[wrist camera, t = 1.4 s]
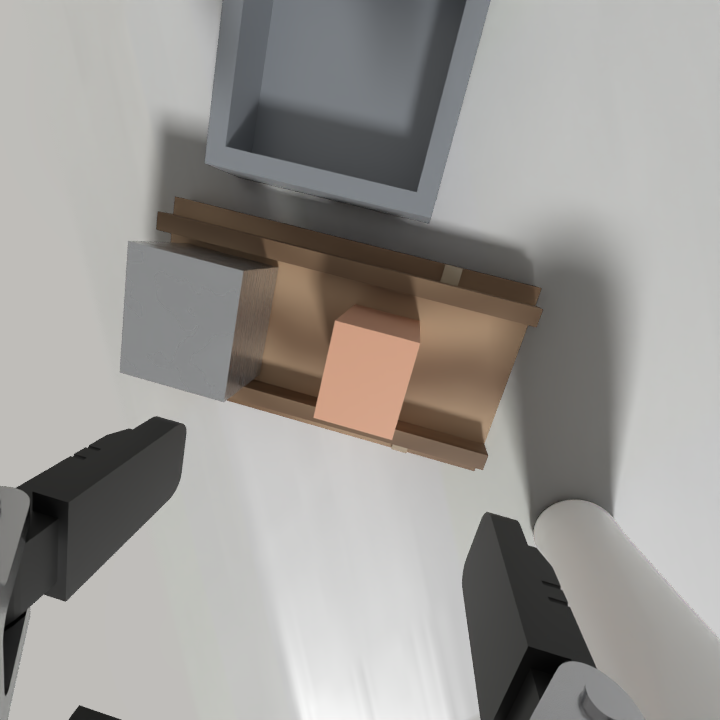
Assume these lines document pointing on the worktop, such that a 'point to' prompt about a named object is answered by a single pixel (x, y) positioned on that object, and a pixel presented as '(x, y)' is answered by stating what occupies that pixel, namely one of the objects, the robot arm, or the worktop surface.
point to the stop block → (368, 370)
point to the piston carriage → (195, 317)
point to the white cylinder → (631, 615)
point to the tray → (343, 96)
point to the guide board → (385, 293)
